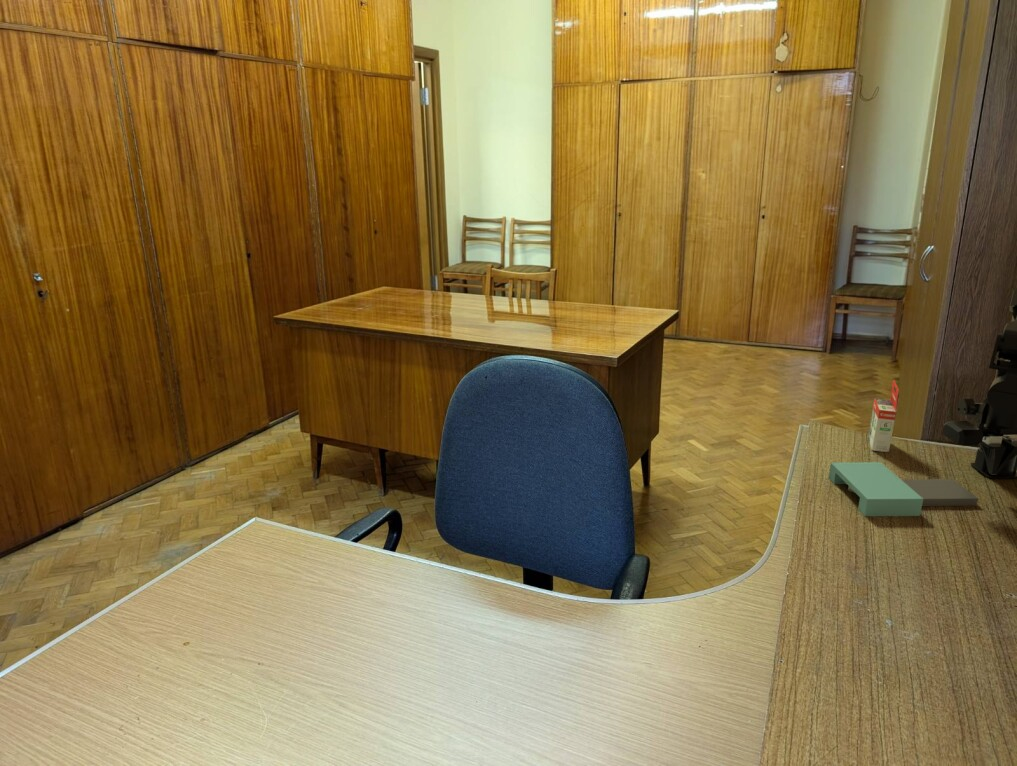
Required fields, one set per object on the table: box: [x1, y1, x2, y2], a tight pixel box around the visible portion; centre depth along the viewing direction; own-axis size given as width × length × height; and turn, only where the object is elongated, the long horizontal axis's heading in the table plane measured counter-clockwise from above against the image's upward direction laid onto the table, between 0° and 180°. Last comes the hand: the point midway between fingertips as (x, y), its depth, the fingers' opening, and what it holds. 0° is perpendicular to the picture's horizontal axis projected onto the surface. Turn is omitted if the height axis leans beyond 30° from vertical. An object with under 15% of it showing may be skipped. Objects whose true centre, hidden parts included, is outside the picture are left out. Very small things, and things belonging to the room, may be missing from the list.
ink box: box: [867, 379, 901, 453], centre depth 152 cm, size 4×8×15 cm, turn 160°
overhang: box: [828, 461, 923, 517], centre depth 131 cm, size 10×15×4 cm, turn 179°
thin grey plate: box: [900, 478, 979, 507], centre depth 132 cm, size 11×8×2 cm
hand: (992, 473), depth 130 cm, fingers closed
